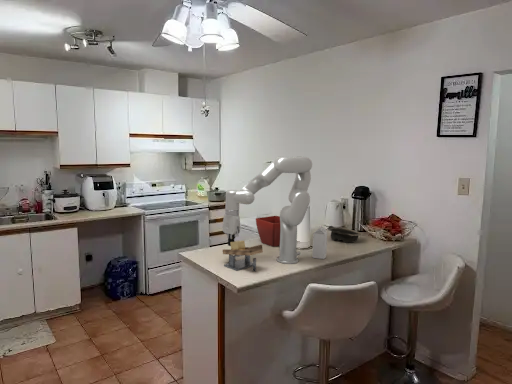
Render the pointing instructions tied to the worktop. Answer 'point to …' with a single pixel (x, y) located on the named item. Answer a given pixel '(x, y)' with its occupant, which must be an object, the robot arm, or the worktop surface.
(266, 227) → the plant pot
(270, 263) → the worktop surface
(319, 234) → the milk carton
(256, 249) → the board
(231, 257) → the pivot stand
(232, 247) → the block
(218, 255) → the worktop surface
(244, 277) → the worktop surface
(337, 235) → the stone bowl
